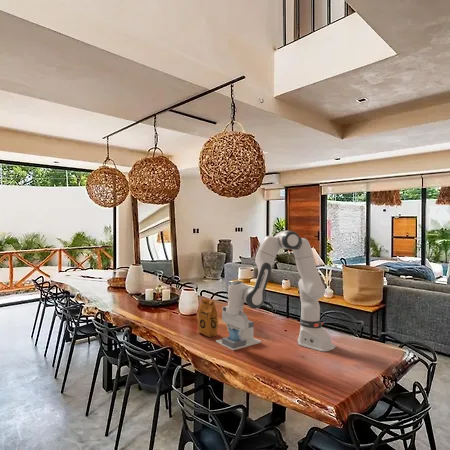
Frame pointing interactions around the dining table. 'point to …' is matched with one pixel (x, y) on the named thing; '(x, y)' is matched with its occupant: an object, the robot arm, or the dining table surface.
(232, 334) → the plug
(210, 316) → the coffee package
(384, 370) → the dining table surface
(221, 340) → the square socket plate
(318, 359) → the dining table surface
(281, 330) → the dining table surface
